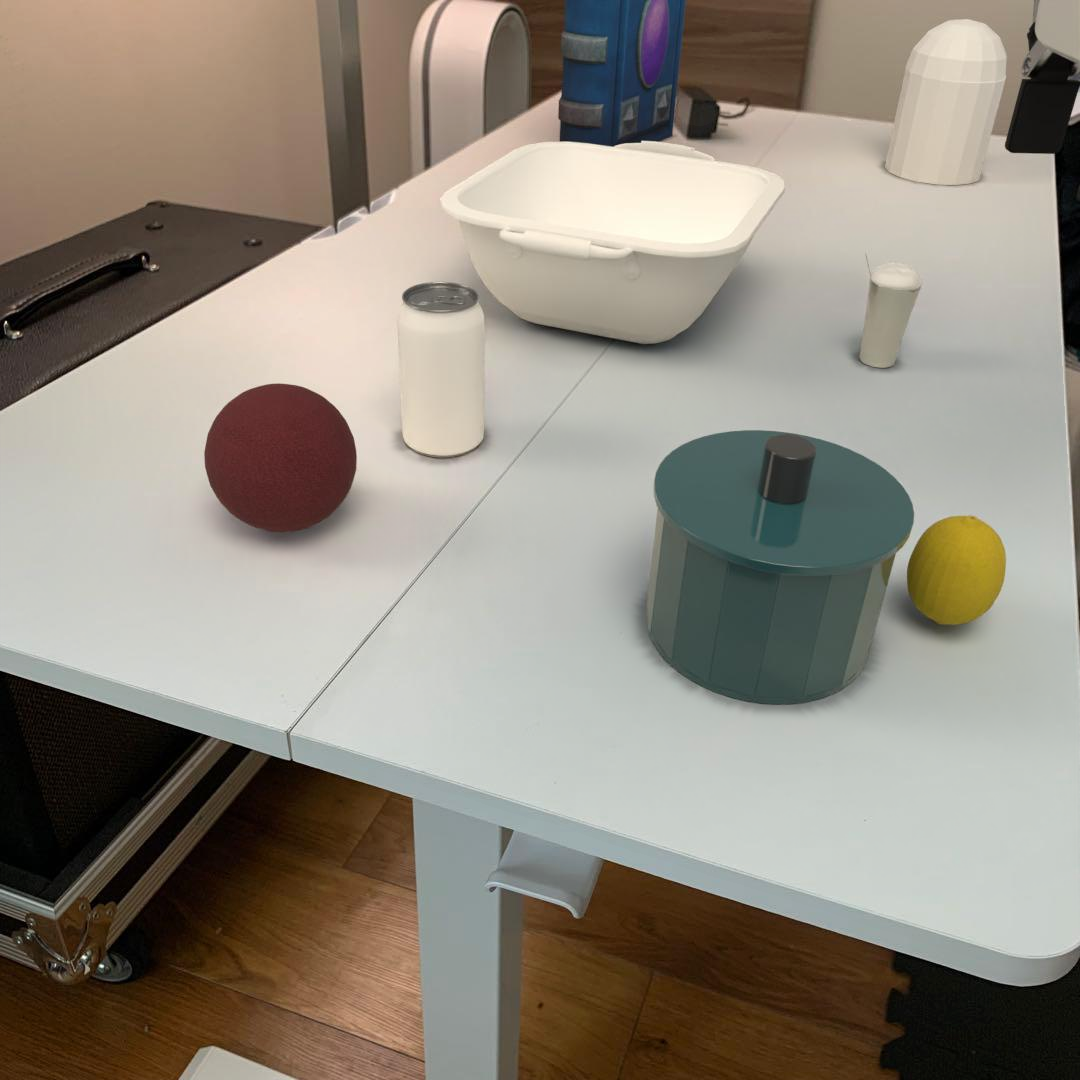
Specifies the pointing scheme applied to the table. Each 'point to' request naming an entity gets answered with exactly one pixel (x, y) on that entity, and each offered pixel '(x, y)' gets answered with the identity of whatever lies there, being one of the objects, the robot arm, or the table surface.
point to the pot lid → (783, 502)
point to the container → (948, 104)
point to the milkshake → (888, 312)
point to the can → (441, 368)
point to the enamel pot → (759, 623)
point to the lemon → (956, 570)
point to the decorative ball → (280, 457)
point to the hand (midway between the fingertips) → (1066, 175)
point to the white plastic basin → (610, 233)
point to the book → (619, 70)
